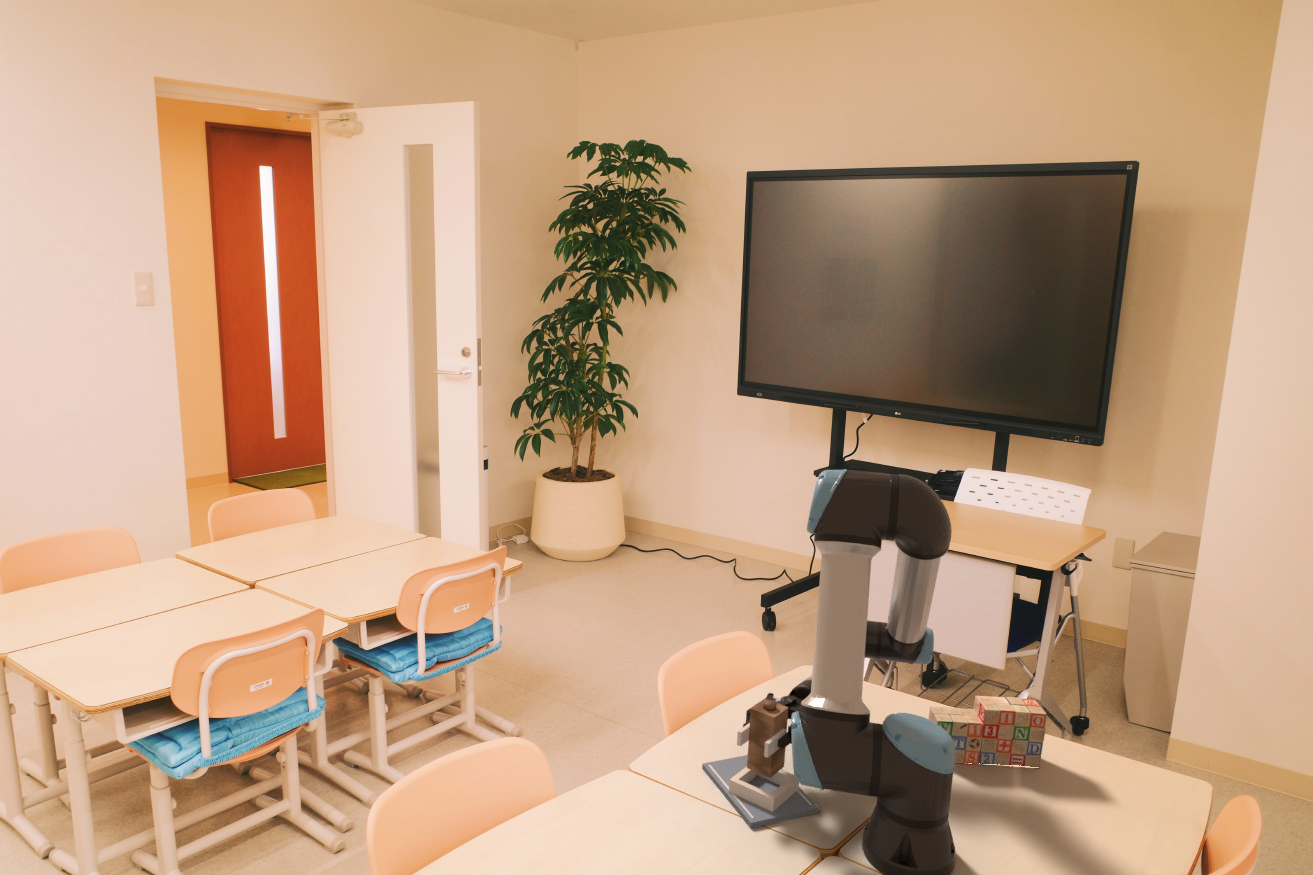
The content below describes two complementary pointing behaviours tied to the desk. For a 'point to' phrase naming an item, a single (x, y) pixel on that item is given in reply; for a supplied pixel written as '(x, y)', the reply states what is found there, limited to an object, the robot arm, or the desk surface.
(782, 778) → the socket collar
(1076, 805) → the desk surface
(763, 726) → the pillar
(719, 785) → the board
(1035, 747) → the stack of blocks
